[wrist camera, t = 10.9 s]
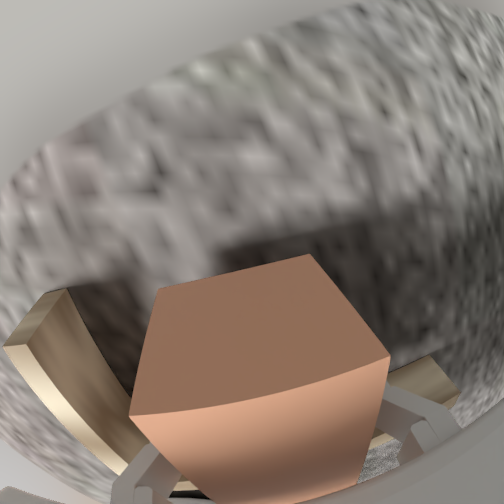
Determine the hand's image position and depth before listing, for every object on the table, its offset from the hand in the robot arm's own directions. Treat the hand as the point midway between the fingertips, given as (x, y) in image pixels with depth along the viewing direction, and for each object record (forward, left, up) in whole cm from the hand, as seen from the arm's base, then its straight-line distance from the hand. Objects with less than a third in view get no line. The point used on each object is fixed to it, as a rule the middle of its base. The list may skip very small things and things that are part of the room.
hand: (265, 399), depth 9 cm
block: (0, 0, -2) cm, 2 cm away
